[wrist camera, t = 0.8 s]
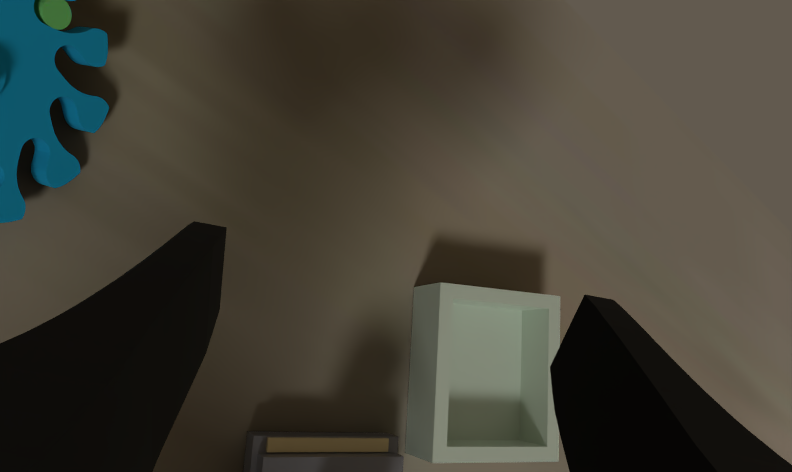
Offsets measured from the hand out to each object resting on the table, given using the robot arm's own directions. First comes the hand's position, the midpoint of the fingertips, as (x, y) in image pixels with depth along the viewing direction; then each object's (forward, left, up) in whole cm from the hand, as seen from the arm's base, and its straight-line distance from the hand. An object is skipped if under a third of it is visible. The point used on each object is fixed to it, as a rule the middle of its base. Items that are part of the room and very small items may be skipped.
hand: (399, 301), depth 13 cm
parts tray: (-2, -10, -14) cm, 17 cm away
